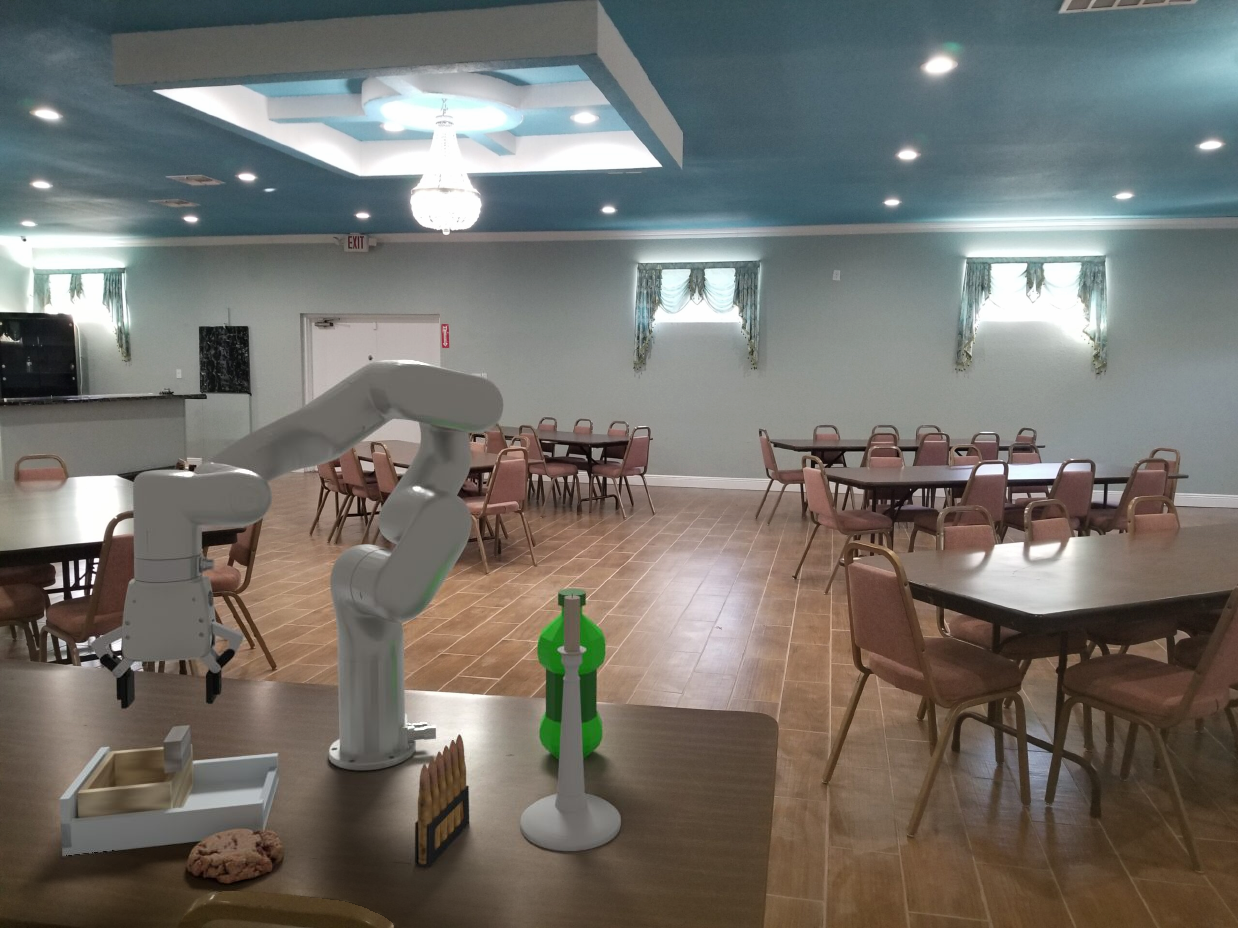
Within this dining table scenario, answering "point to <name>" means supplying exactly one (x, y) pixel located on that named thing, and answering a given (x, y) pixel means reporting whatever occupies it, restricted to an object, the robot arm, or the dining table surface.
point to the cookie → (236, 855)
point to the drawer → (141, 778)
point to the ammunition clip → (441, 804)
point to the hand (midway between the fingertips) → (170, 702)
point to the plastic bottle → (555, 673)
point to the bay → (214, 805)
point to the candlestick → (571, 768)
